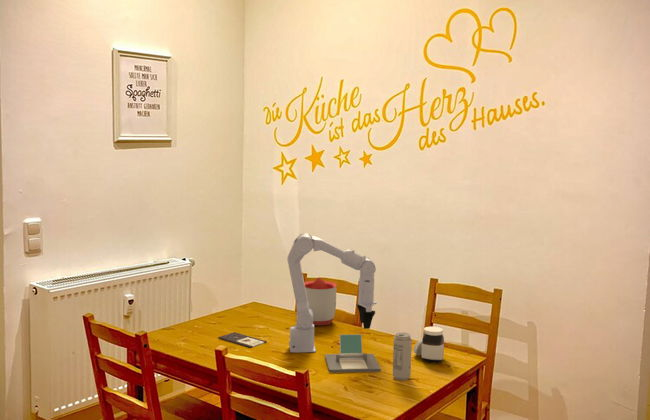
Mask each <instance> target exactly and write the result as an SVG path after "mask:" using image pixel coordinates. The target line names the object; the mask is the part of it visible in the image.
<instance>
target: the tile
mask: <svg viewBox="0 0 650 420" xmlns="http://www.w3.org/2000/svg"><path fill="white" fill-rule="evenodd" d="M362 339H363V338H362V334H361V333H360V334H358V333H357V334H355V333H354V334H352V333H351V334H339V354H363V340H362Z"/></svg>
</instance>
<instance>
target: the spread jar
mask: <svg viewBox="0 0 650 420" xmlns="http://www.w3.org/2000/svg"><path fill="white" fill-rule="evenodd" d="M444 350H445V338H444V329H443V328H442V327H438V326H427V327H426V326H425V327H424V329H423V335H422V337H421V338H419V339H418V340H417V341H416V342H415V345H414V346H413V351H412V352H413V353H414V354H416V356H420V355H421V359H422V361H424V362H425V363H428V364H438V363H441V362H443V360H444V353H445V351H444Z"/></svg>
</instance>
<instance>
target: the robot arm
mask: <svg viewBox="0 0 650 420" xmlns="http://www.w3.org/2000/svg"><path fill="white" fill-rule="evenodd" d="M312 250H313V252H318V251H323V252H325V253H327V254H329V255H331V256H334V257H336V258H338V259H340V262H341V263H342V264H344V265H345V266H347V267H350V268H351V269H353V270H356V271H359V277H358V278H359V279H358V301H357V303H356V307H357V309H358V314H359V320H360V323H361V324H362V325H363V329H365V330H368V329H370V328H371V325H372V321H373V318H374V316H375V315H376V311H375V310H373V309H372V308H373V306H375V305H377V303H378V302H377V301H376V300H375V301H374V299H375V297H374V296H375V295H374V294H375V274H376V270H377V268H376V265H375V263H374V261H373V260H372V259H371V258H370V257H367V256H365V255H361V254H359V253H356V252H355V250H354V249H351V250H350V249H344V250H343V249H341V248H339V247H338V246H335V245H333V244H331V243H330V242H327V240H324V239H322V238H320V237H318V236H315V235H310V234H309V233H307V232H303V233H300V234H299V235H297V237H296V238H295V239H294V241H293V244H292V246H291V249H290V250H289V253H288V255H287V265H288V269H289V275H290V278H291V284H292V290H293V294H294V299H295V306H296V323H295V325H294V326H289V341H288V347H289V350H290V351H289V352H290V353H316V352H317V351H316V347H315V325H314V324H313V311H312V309H311V308H310V307H309V303H308V299H307V294H306V289H305V284H304V282H305V279H304V274H303V269H302V264H301V261H302V260H303V258H304V257H305V256H306V255H308V254H309V253H310V252H311V251H312Z"/></svg>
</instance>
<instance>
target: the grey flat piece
mask: <svg viewBox="0 0 650 420" xmlns="http://www.w3.org/2000/svg"><path fill="white" fill-rule="evenodd" d="M324 359H325V362H326V366H327V369H328V373H335V374H336V373H380V372H381V371H382V368H381V366H380V365H379V362H378V361H377V358H376V357H375V354H374V353H362V354H340V353H335V354H333V353H329V354H326V353H325V354H324Z"/></svg>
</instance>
